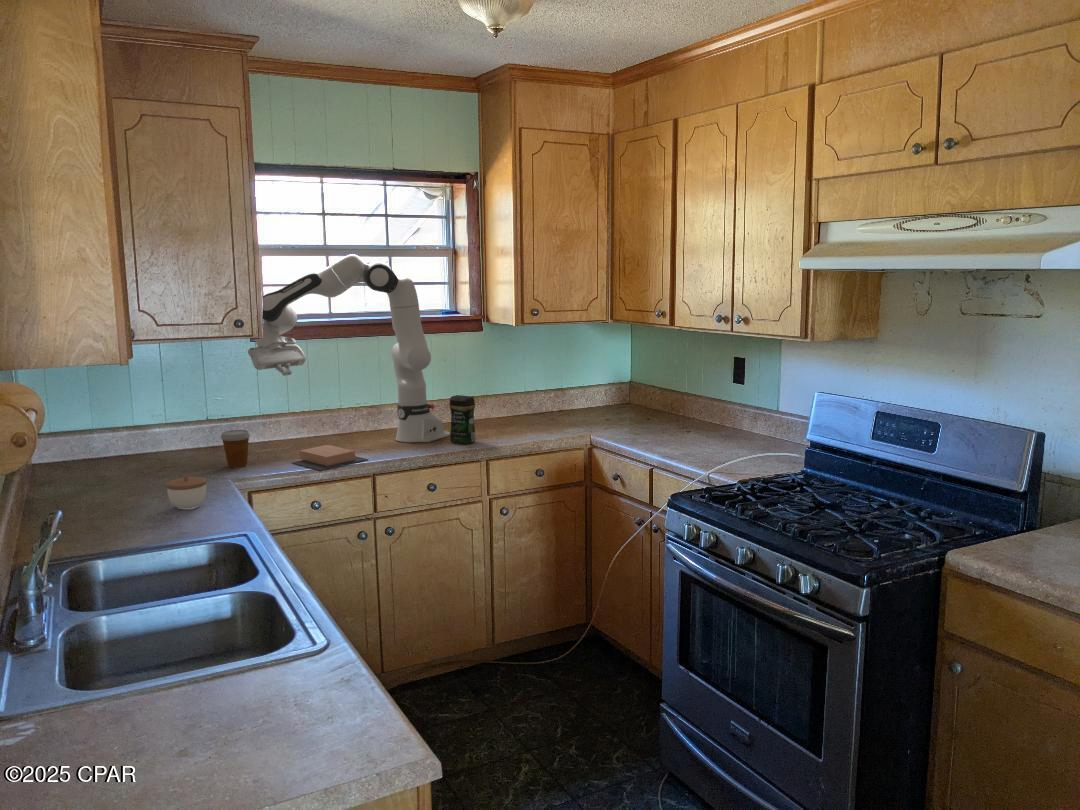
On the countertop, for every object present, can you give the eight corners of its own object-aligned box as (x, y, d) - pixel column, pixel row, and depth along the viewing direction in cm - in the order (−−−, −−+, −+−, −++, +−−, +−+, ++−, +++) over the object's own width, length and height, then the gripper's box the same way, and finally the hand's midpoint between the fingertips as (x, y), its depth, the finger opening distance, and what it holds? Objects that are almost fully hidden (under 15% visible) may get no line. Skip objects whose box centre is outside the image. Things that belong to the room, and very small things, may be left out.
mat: (339, 453, 308) (339, 452, 308) (368, 460, 297) (367, 459, 297) (292, 463, 293) (292, 462, 293) (320, 471, 282) (320, 469, 282)
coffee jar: (446, 443, 323) (445, 396, 320) (458, 439, 330) (457, 393, 327) (467, 445, 319) (466, 397, 316) (478, 441, 326) (477, 394, 323)
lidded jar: (196, 499, 249) (193, 469, 247) (215, 506, 242) (212, 474, 241) (161, 508, 241) (158, 476, 239) (180, 514, 234) (177, 482, 233)
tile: (327, 444, 305) (354, 450, 295) (328, 453, 305) (355, 460, 295) (299, 450, 296) (326, 457, 286) (300, 459, 296) (326, 466, 286)
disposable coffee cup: (228, 470, 284) (226, 436, 282) (219, 465, 291) (216, 432, 289) (256, 466, 290) (253, 432, 288) (246, 461, 297) (243, 428, 295)
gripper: (248, 342, 300) (265, 371, 296) (298, 338, 315) (314, 366, 311) (243, 354, 304) (259, 383, 299) (292, 349, 319) (308, 376, 314)
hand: (287, 374), depth 305 cm, fingers closed
